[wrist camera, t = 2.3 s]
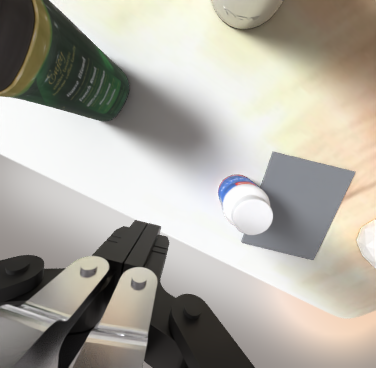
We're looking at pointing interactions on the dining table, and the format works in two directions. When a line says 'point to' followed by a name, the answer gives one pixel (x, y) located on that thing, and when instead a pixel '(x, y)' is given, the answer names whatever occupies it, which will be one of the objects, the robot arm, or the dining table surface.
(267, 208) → the pill bottle
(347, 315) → the dining table surface
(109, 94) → the coffee jar
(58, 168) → the dining table surface
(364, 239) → the geometric ball
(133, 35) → the dining table surface
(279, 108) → the dining table surface
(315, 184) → the mat
